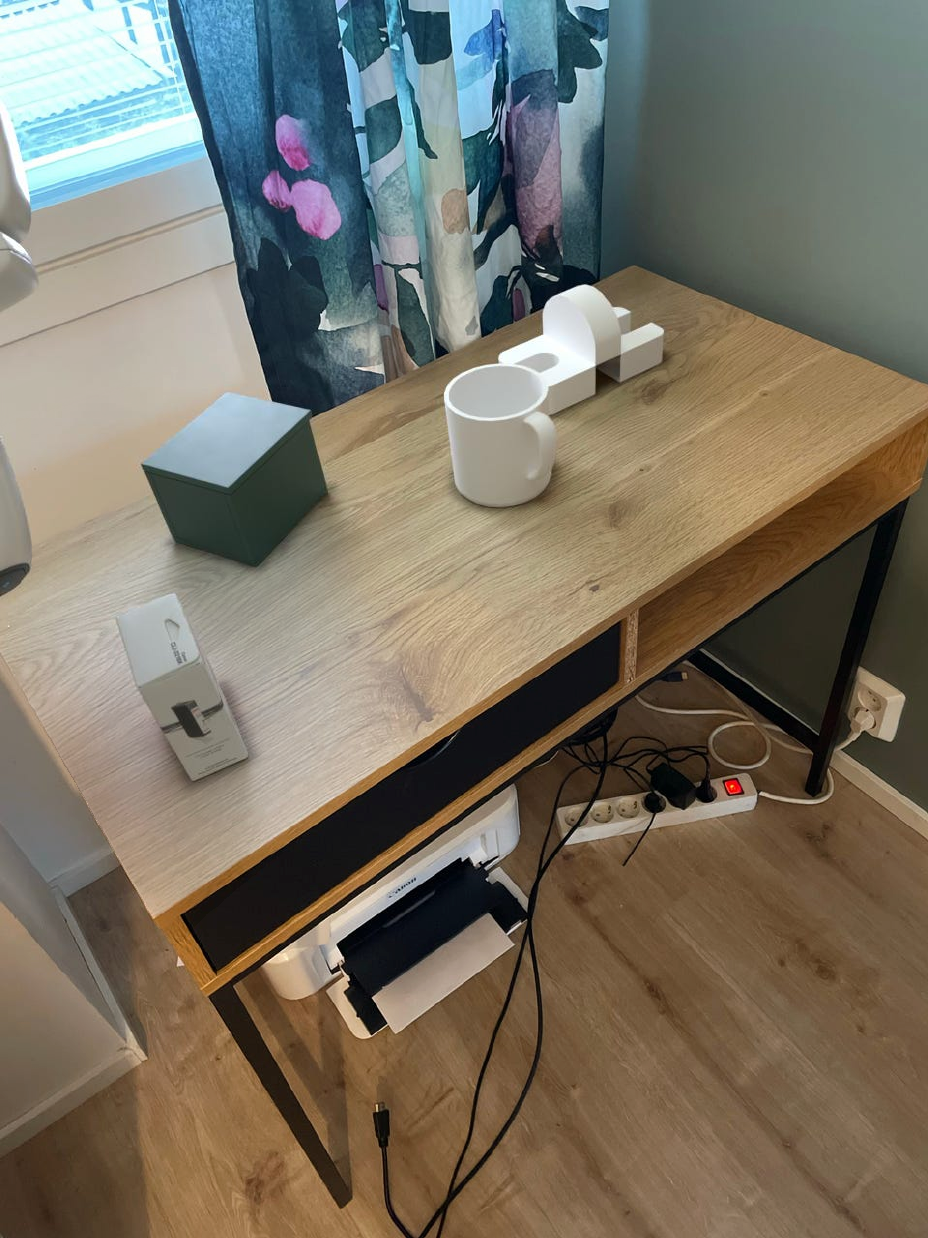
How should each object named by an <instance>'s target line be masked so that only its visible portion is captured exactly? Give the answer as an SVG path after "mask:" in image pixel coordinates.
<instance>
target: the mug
mask: <svg viewBox="0 0 928 1238" xmlns="http://www.w3.org/2000/svg"><path fill="white" fill-rule="evenodd" d="M443 402H444V409H445V416H446V423H447V432H448V440H449V446H450V454H451V461H452V469H453V478H454V485H455V488H457V491H458V492H459V493H460V494H461V495H462V496H463V497H464V498H465V499H466V500H468V501H470V502H472V503H474V504H476V505H480V506H484V507H490V508H507V507H514V506H518V505H521V504H525V503H527V502H530V501H531V500H533V499H535V498H537V497H538V496H539V495H540V494H542V493H543V492H544V490H546V488H547V487H548V486H549V484H550V482H551V478H552V469H553V468H554V467H553V466H554V464H555V460H556V457H557V452H558V451H557V449H558V437H557V436H558V435H557V431H556V427H555V424H554V422H553V420H552V419H551V418H550V415H549V390H548V384H547V381H546V380H545V378H544V377H543V376H542V375H541V374H540V373H538V372H537V371H535V370H533V369H531V368H528V367H525V366H521V365H516V364H499V363H490V364H484V365H479V366H476V367H473V368H470V369H468V370H466V371H463V372H461V373H460V374H458V375H456V377H454V378H453V379H452V380H451V381H449V383H448V384H447V385H446V387H445V390H444V392H443Z"/></svg>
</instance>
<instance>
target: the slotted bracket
mask: <svg viewBox="0 0 928 1238" xmlns="http://www.w3.org/2000/svg"><path fill="white" fill-rule="evenodd" d="M631 324H632V312H631V311H630V310H629V309H627V308H625V307H621V306H612V304H611V303H610V301H609V300H608V299H607V298H606V296H605V295H604V294H603V292H601V291H600V290H598V289H597V288H596V287H595V286H592V285H588V284H581V285H576V286H575V287H572V288H569V289H567V290H565V291H563V292H560V293H558V294H555V295H553V296H551V297H550V298H549V299H548V300H547V301H546V303H545V305H544V308H543V310H542V331H543V332H542V334H541V335H538V336H536V337H534V338H531V339H530V340H528V341H525V342H522V343H519V344H518V345H516V346H513V347H511V348H509V349H507V350H505V351H502V352H500V353H499V355H498V356H497V357H498V359H497V360H498V364H516V365H521V366H525V367H528V368H531V369H533V370H535V371H537V372H538V373H540V374H541V375H542V376H543V377H544V378H545V380H546V381H547V384H548V390H549V416H550V415H555V414H556V413H558V412H561V411H563V410H565V409H568V408H569V407H571V406H574V405H575V404H578V403H580V402H582V401H583V400H586V399H589V398H590V397H592V396H594V395H596V369H597V370H598V371H600V372H602V373H603V374H605V375H606V376H608V377H610V378H612V379H613V380H615V381H616V382H618V383H622V382H624V381H626V380H628V379H630V378H632V377H635V376H637V375H639V374H640V373H643V372H645V371H647V370H649V369H652V368H654V367H656V366H658V365H660V364H661V363H662V362H663V355H664V354H663V351H664V339H665V337H664V336H665V330H664V328H663V327H662V326H659V325H658V324H656V323H653V322H649V323H647V324H645V325H643V326H640V327H639V328H636V329H634V330H632V331H631Z"/></svg>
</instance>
